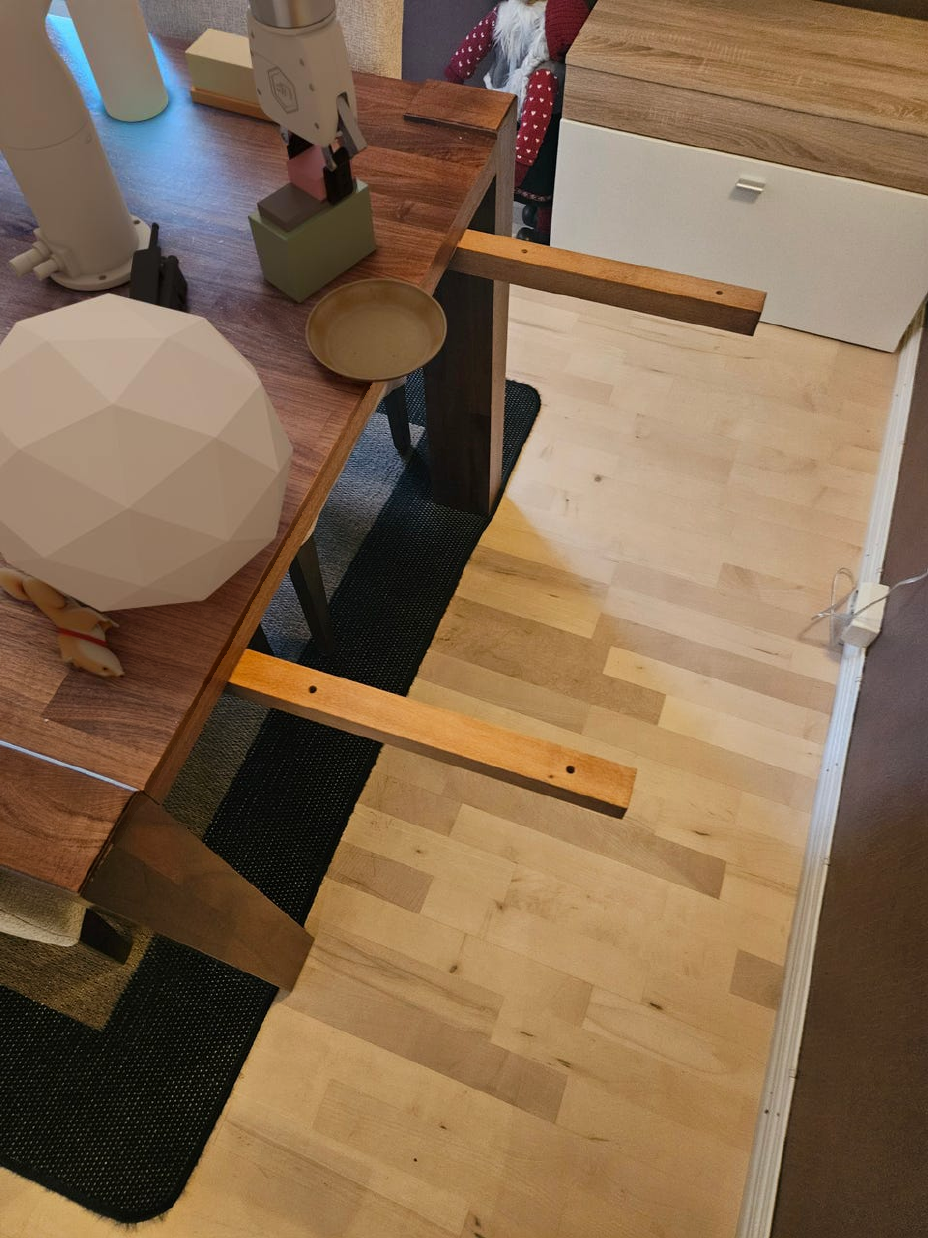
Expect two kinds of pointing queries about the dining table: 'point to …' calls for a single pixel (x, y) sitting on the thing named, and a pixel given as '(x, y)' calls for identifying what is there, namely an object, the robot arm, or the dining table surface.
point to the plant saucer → (376, 329)
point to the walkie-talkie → (157, 277)
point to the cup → (120, 57)
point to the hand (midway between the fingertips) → (323, 185)
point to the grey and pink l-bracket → (300, 191)
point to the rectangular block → (315, 244)
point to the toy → (68, 623)
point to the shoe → (224, 73)
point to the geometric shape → (134, 454)
